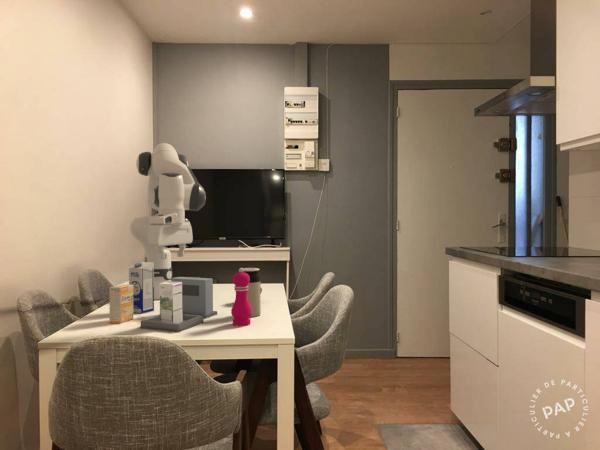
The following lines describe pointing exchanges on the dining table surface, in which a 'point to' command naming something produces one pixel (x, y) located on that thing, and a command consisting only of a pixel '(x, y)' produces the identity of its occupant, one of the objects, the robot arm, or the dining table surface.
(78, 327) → the dining table surface
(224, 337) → the dining table surface
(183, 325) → the parts tray
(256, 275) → the travel mug
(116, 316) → the supplement box
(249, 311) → the red pepper mill
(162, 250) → the robot arm
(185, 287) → the control unit
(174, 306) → the syrup box
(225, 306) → the dining table surface
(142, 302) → the milk carton
